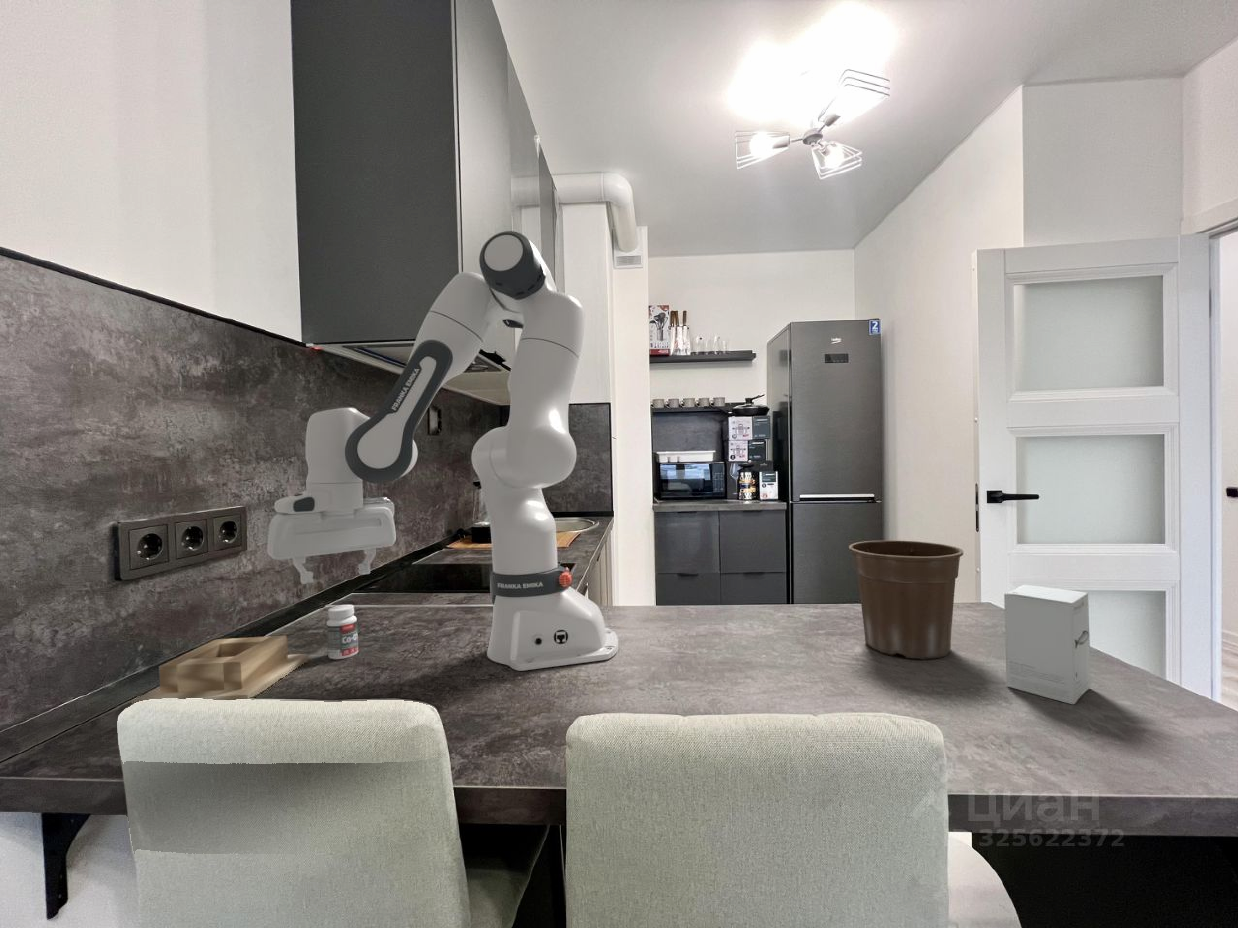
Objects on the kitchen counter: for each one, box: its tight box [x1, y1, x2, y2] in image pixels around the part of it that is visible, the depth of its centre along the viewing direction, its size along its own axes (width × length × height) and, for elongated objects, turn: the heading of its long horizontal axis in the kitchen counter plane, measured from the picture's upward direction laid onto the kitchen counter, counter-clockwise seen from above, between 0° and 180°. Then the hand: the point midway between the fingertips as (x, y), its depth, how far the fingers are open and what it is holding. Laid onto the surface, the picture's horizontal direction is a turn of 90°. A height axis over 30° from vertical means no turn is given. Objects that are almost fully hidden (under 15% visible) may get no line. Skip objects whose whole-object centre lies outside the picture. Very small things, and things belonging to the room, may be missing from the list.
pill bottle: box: [326, 604, 359, 660], centre depth 95 cm, size 5×5×8 cm
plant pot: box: [848, 540, 964, 660], centre depth 87 cm, size 16×16×16 cm
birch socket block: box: [131, 635, 309, 705], centre depth 84 cm, size 16×16×5 cm
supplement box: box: [1003, 584, 1092, 705], centre depth 70 cm, size 7×7×13 cm
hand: (336, 578), depth 95 cm, fingers open, 8 cm apart
